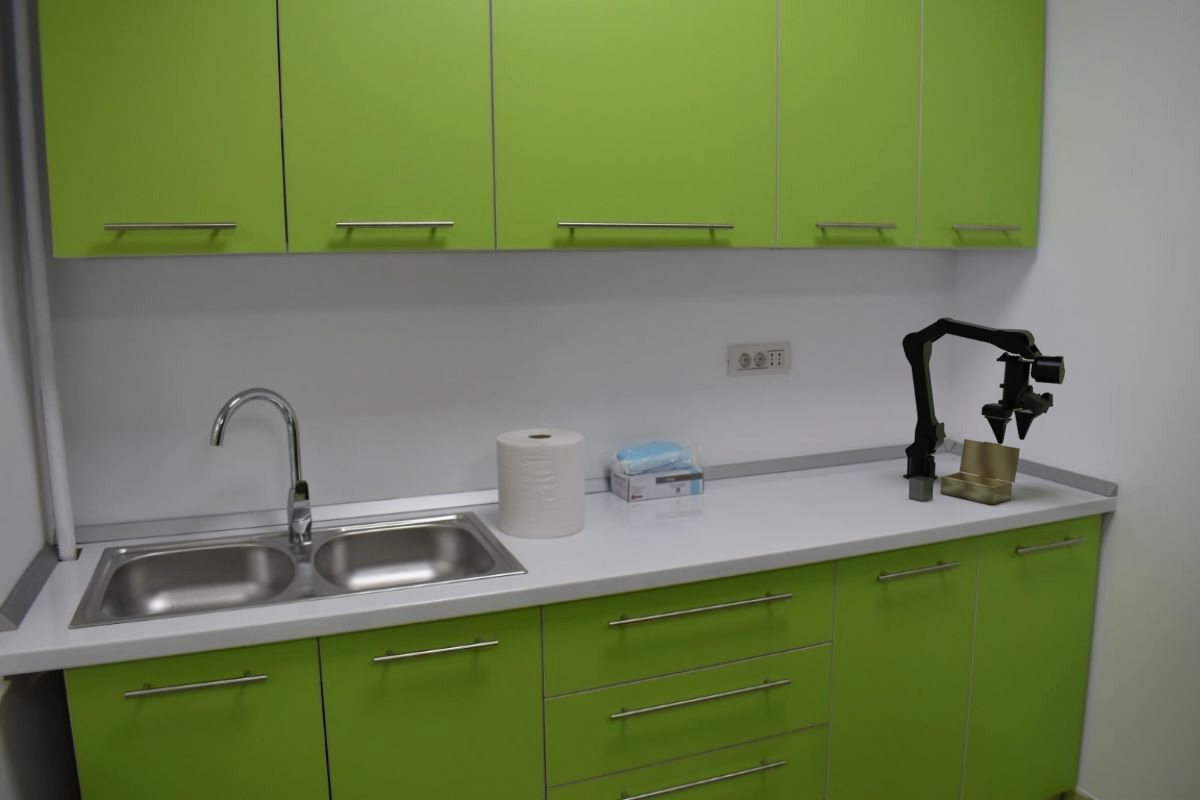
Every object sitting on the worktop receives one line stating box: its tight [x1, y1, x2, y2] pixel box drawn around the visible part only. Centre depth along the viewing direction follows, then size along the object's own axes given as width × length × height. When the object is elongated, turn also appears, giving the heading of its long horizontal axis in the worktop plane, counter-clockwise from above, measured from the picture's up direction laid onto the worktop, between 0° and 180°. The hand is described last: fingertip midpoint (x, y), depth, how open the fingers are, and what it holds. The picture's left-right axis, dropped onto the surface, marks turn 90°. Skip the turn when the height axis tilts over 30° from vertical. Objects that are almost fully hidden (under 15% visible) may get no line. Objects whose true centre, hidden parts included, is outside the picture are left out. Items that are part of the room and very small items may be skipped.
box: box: [939, 471, 1013, 506], centre depth 215 cm, size 14×8×4 cm, turn 35°
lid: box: [959, 438, 1021, 483], centre depth 217 cm, size 14×9×1 cm
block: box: [908, 476, 935, 502], centre depth 214 cm, size 4×4×5 cm
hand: (1011, 441), depth 219 cm, fingers open, 9 cm apart
